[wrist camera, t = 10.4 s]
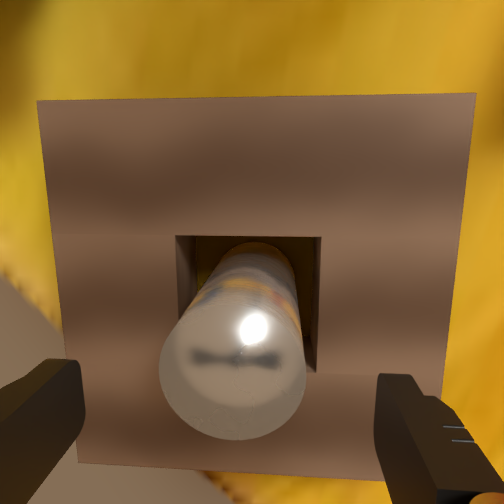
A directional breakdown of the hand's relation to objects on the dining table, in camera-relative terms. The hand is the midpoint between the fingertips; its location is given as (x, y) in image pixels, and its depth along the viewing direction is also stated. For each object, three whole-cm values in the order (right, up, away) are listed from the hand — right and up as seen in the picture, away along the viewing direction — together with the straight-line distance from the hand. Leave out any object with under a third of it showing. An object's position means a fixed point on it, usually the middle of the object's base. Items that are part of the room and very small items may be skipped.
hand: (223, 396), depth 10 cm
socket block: (+1, +2, +11) cm, 11 cm away
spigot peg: (+1, +2, +11) cm, 11 cm away
